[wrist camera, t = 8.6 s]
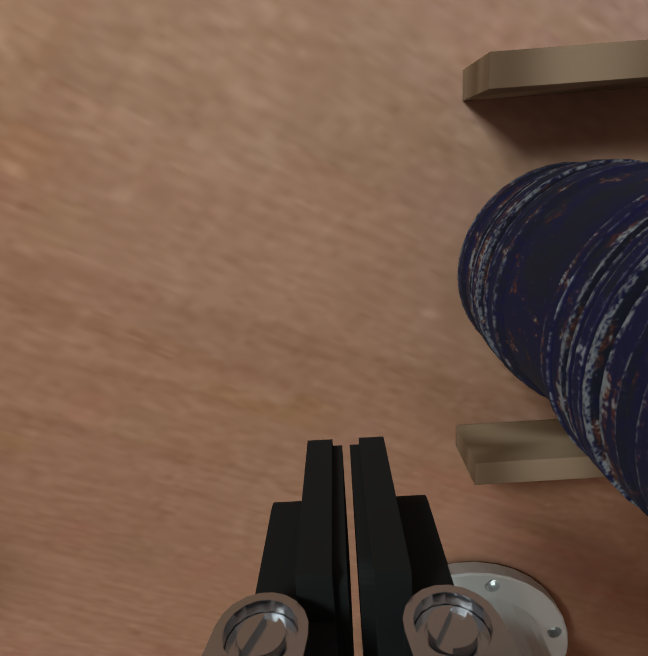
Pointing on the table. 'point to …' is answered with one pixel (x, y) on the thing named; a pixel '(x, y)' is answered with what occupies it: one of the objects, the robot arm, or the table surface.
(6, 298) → the table surface
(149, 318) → the table surface
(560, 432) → the dock
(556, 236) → the dark blue cylinder
